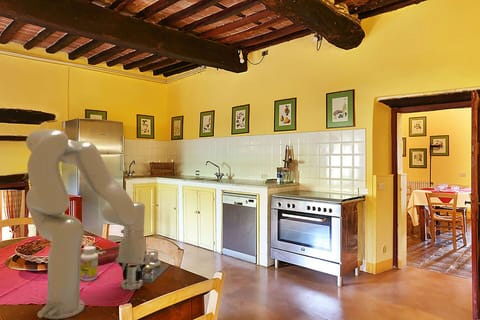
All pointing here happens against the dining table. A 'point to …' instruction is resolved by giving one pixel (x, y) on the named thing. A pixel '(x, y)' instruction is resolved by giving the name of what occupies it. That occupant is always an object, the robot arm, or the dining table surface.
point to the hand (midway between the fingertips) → (132, 279)
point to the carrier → (153, 268)
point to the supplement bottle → (89, 264)
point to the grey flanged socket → (131, 278)
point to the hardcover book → (107, 255)
